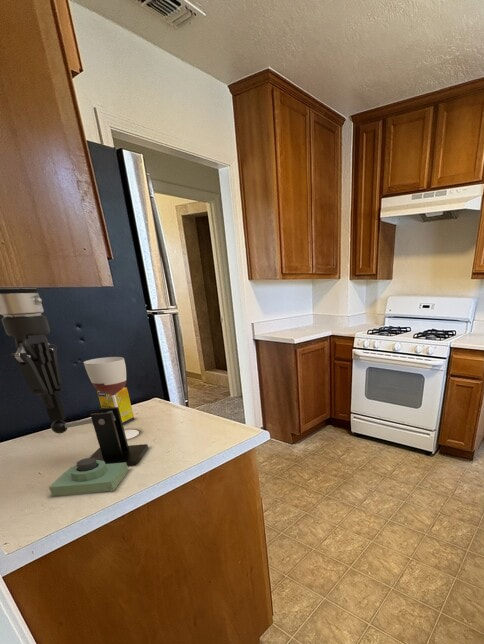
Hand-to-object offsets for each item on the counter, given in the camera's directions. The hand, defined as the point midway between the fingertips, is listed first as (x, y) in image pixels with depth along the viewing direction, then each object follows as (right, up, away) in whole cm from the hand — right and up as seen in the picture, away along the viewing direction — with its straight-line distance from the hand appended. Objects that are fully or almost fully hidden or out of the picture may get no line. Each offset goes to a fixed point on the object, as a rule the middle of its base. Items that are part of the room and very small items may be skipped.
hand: (58, 419), depth 84 cm
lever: (+5, -2, +2) cm, 6 cm away
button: (+12, -11, -7) cm, 17 cm away
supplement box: (-3, 0, +30) cm, 30 cm away
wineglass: (+4, -4, +20) cm, 21 cm away
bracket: (+11, -10, +6) cm, 16 cm away
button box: (+12, -14, -5) cm, 19 cm away
